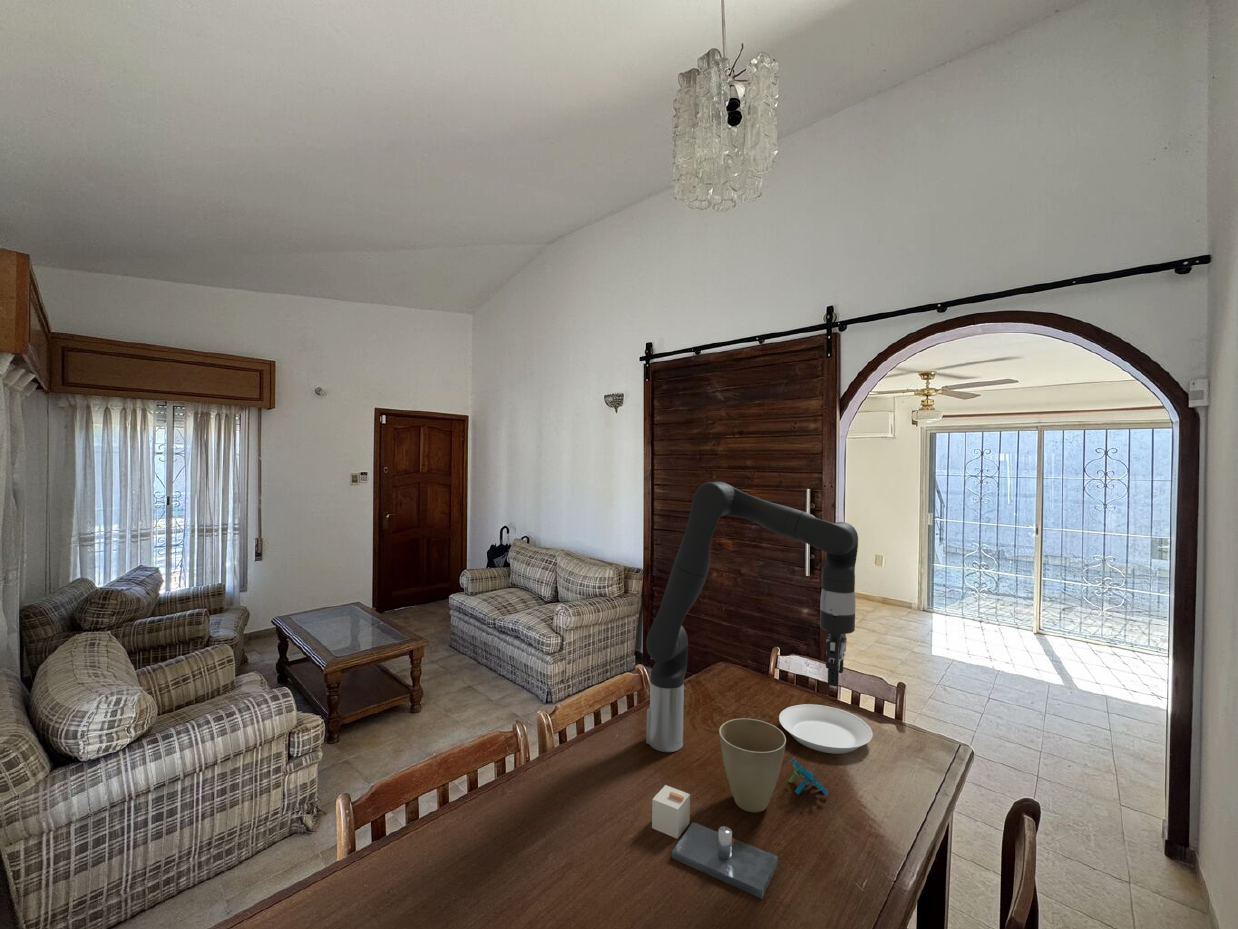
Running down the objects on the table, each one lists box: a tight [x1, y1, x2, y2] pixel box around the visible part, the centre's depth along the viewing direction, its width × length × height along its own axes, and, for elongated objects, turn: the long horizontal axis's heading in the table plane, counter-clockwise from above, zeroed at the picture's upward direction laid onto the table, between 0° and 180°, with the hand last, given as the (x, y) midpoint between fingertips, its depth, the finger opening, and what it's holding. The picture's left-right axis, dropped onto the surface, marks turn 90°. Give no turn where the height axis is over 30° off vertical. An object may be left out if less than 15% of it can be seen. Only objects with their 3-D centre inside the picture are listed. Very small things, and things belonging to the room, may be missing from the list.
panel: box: [671, 821, 779, 900], centre depth 106 cm, size 18×10×6 cm, turn 58°
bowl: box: [778, 703, 873, 754], centre depth 155 cm, size 25×25×4 cm
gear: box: [788, 758, 829, 796], centre depth 129 cm, size 11×6×10 cm
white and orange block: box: [651, 784, 691, 840], centre depth 116 cm, size 6×6×7 cm
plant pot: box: [718, 717, 787, 813], centre depth 124 cm, size 15×15×16 cm
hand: (835, 678), depth 125 cm, fingers open, 8 cm apart
